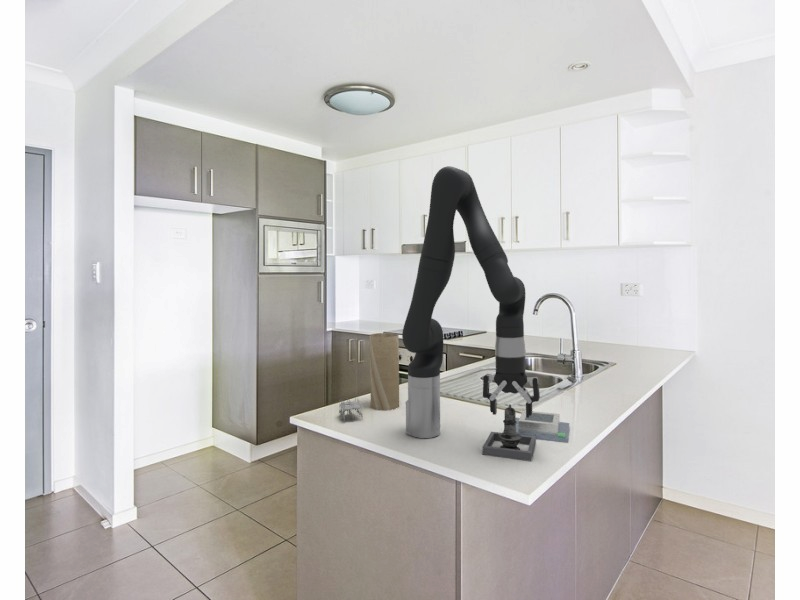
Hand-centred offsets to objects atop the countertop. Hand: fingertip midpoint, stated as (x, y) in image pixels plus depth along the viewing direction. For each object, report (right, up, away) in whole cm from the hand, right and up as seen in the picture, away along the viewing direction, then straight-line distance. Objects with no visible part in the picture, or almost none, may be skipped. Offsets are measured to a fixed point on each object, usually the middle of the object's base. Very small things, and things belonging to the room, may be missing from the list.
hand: (511, 415), depth 122 cm
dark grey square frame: (0, -9, +1) cm, 9 cm away
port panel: (+12, -8, +15) cm, 20 cm away
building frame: (-45, -8, +28) cm, 54 cm away
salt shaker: (0, -9, +1) cm, 9 cm away
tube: (-34, -7, +41) cm, 54 cm away
